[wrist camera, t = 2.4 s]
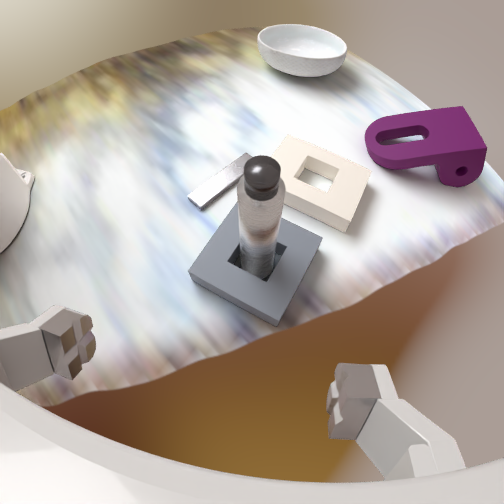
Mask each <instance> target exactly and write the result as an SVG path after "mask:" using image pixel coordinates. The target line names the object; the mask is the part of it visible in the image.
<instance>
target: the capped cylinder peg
mask: <svg viewBox="0 0 504 504" xmlns="http://www.w3.org/2000/svg"><path fill="white" fill-rule="evenodd" d="M280 173H281V167H280V164H279V163H278V162H277V161H276V160H275V159H273V158H271V157H268V156H255V157H252V158H250V159H249V160H248V161H247V162H246V163H245V165H244V175H243V176H242V177H241V178H240V180H239V182H238V185H237V196H238V217H239V236H240V255H241V268H242V270H244V271H246V272H248V273H250V274H252V275H254V276H256V277H258V278H260V279H262V278H265V277H266V276H268V275H269V274H270V272H271V271H272V268H273V262H274V257H275V251H276V245H277V239H278V233H279V227H280V221H281V215H282V209H283V203H284V197H285V191H286V187H285V184H284V181H283V180H282V178H281V177H280Z"/></svg>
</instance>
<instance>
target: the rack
mask: <svg viewBox="0 0 504 504" xmlns="http://www.w3.org/2000/svg"><path fill="white" fill-rule="evenodd" d="M271 158H273V159H275V160H276V161H277V162H278V163H279V164H280V167H281V173H280V177H281V178H282V180H283V181H284V184H285V187H286V191H285V197H284V203H283V204H285V205H288V206H290V207H292V208H294V209H296V210H298V211H300V212H302V213H305V214H307V215H309V216H311V217H313V218H315V219H317V220H319V221H321V222H323V223H325V224H327V225H329V226H331V227H333V228H335V229H338V230H340V231H342V232H344V233H345V232H346V230H347V228H348V226H349V224H350V222H351V220H352V218H353V215H354V213H355V211H356V208H357V206H358V204H359V201H360V199H361V196H362V194H363V192H364V189H365V187H366V184H367V182H368V179H369V177H370V174H371V172H372V171H371V170H369V169H367V168H365V167H363V166H360V165H358V164H356V163H354V162H352V161H350V160H348V159H345V158H343V157H341V156H339V155H337V154H334V153H332V152H330V151H327V150H325V149H323V148H320V147H318V146H316V145H313V144H311V143H308V142H306V141H304V140H301V139H299V138H296V137H294V136H291V135H287V136H286V138H285V139H284V140H283V142H282V143H281V144H280V145H279V147H278V148H277V149H276V151H275V152H274V153H273V155H272V156H271ZM305 168H306V169H308V170H310V171H312V172H315V173H317V174H319V175H321V176H324V177H326V178H328V179H330V180H332V181H333V183H332V185H331V187H330V189H329V191H328V193H327V192H324V191H322V190H320V189H318V188H316V187H314V186H311V185H309V184H307V183H305V182H302V181H300V180H298V178H299V177H300V175H301V173H302V172H303V170H304V169H305Z"/></svg>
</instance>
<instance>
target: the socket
mask: <svg viewBox="0 0 504 504" xmlns="http://www.w3.org/2000/svg"><path fill="white" fill-rule="evenodd" d="M321 241H322V237H320V236H318V235H316V234H314V233H312V232H310V231H308V230H306V229H304V228H302V227H300V226H298V225H296V224H293V223H291V222H289V221H287V220H285V219H283V218H281V221H280V227H279V233H278V239H277V245H276V251H275V253H277V254H279V255H281V256H282V257H281V258H280V260H279V262H278V263H277V265H276V267H275V269H274V270H273V272H272V274H271V275H270V277H269V279H268V281H267V282H265V281H263V280H261V279H260V278H258V277H256V276H254V275H252V274H250V273H248V272H246V271H244V270H242V269H240V268H239V267H237V266H235V265H233V264H234V262H235V261H236V259H237V258H238V256H239V255H240V236H239V217H238V201H237V203H236V204H235V206H234V207H233V208H232V210H231V211H230V212H229V214H228V215H227V217H226V218H225V219H224V221H223V222H222V224H221V225H220V226H219V228H218V229H217V230H216V232H215V233H214V235H213V236H212V238H211V239H210V240H209V242H208V243H207V245H206V246H205V247H204V249H203V250H202V252H201V253H200V255H199V256H198V257H197V259H196V260H195V262H194V263H193V265H192V266H191V267H190V269H189V270H188V272H189V274H190V276H191V279H192V280H193V281H194V282H196V283H198V284H200V285H201V286H203V287H205V288H207V289H208V290H210V291H212V292H214V293H215V294H217V295H219V296H221V297H222V298H224V299H226V300H228V301H230V302H231V303H233V304H235V305H237V306H239V307H240V308H242V309H244V310H246V311H248V312H250V313H252V314H253V315H255V316H257V317H259V318H261V319H263V320H265V321H266V322H268V323H270V324H272V325H274V326H276V327H277V325H278V323H279V322H280V320H281V318H282V316H283V314H284V313H285V311H286V309H287V307H288V305H289V303H290V301H291V300H292V298H293V296H294V294H295V292H296V290H297V288H298V287H299V285H300V283H301V281H302V279H303V277H304V275H305V273H306V271H307V269H308V267H309V265H310V264H311V262H312V260H313V258H314V256H315V254H316V252H317V250H318V248H319V245H320V243H321Z"/></svg>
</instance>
